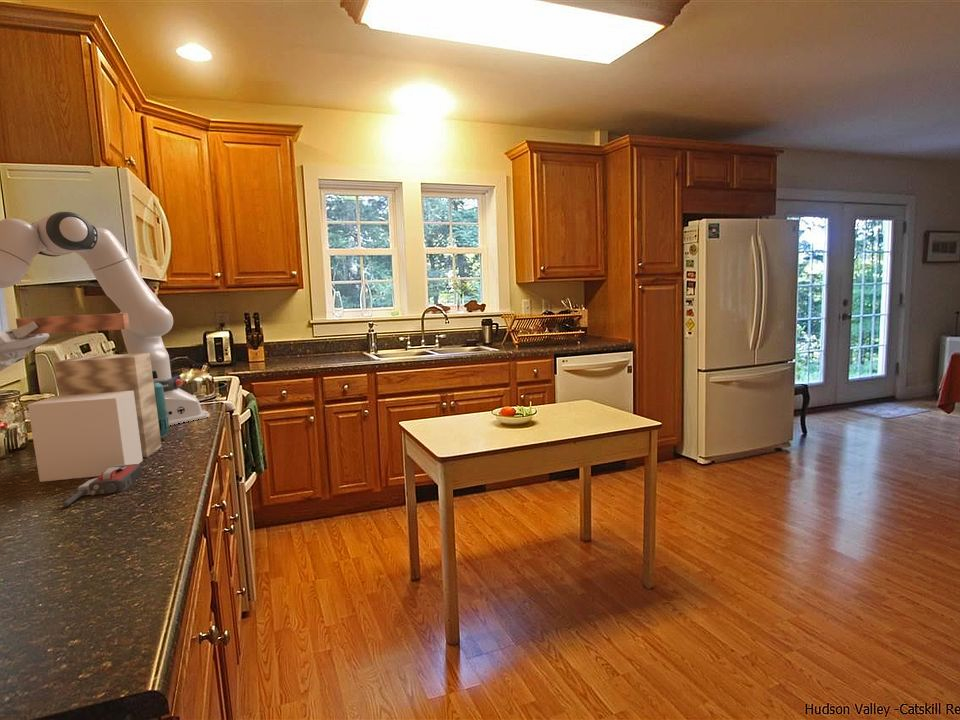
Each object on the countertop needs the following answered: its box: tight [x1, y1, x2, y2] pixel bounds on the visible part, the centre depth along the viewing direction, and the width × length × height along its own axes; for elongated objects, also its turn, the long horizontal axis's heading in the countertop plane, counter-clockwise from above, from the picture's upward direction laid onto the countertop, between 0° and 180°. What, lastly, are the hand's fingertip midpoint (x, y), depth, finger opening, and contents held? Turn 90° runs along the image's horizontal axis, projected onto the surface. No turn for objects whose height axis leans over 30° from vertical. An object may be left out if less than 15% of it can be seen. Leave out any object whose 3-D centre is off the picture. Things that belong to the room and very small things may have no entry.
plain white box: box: [27, 391, 144, 483], centre depth 134 cm, size 18×10×18 cm, turn 101°
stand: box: [53, 353, 162, 459], centre depth 146 cm, size 18×10×26 cm, turn 101°
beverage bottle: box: [152, 371, 170, 437], centre depth 161 cm, size 6×7×20 cm
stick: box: [15, 312, 130, 334], centre depth 142 cm, size 24×3×4 cm, turn 101°
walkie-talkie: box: [62, 464, 143, 507], centre depth 121 cm, size 9×4×20 cm
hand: (41, 323), depth 141 cm, fingers closed on stick, 3 cm apart
